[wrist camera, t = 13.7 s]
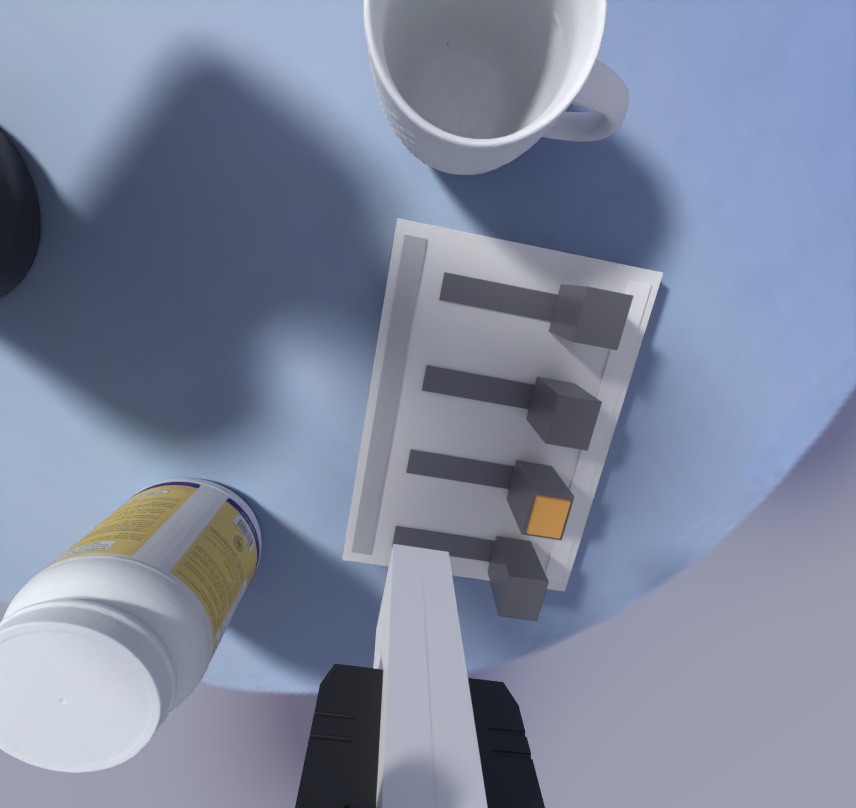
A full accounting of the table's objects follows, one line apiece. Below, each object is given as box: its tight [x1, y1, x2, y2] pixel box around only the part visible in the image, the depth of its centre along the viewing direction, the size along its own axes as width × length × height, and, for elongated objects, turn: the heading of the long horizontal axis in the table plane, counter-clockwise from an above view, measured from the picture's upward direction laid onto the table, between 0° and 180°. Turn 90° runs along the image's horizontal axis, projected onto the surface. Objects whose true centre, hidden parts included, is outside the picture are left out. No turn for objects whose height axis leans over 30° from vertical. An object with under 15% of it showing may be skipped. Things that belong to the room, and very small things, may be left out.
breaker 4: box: [487, 536, 549, 621], centre depth 38 cm, size 3×4×6 cm
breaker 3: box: [506, 460, 574, 541], centre depth 36 cm, size 3×4×6 cm
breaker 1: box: [549, 284, 633, 350], centre depth 32 cm, size 3×4×6 cm
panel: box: [342, 218, 663, 592], centre depth 39 cm, size 20×28×2 cm
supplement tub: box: [0, 477, 262, 772], centre depth 34 cm, size 12×12×17 cm
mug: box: [363, 0, 629, 175], centre depth 27 cm, size 15×11×13 cm
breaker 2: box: [526, 377, 602, 451], centre depth 34 cm, size 3×4×6 cm
